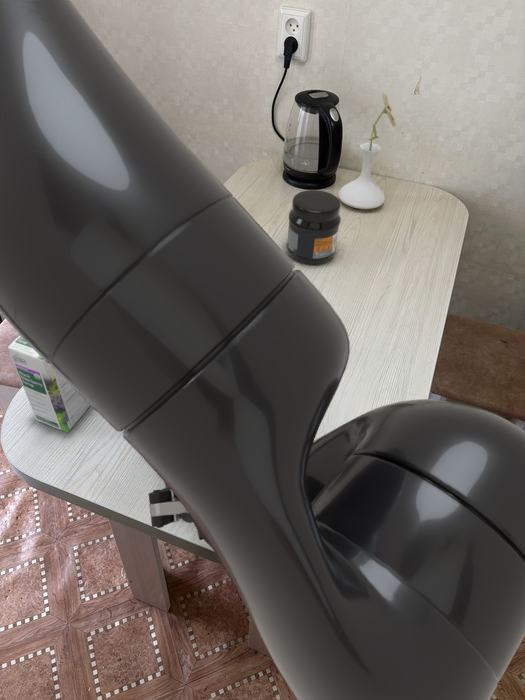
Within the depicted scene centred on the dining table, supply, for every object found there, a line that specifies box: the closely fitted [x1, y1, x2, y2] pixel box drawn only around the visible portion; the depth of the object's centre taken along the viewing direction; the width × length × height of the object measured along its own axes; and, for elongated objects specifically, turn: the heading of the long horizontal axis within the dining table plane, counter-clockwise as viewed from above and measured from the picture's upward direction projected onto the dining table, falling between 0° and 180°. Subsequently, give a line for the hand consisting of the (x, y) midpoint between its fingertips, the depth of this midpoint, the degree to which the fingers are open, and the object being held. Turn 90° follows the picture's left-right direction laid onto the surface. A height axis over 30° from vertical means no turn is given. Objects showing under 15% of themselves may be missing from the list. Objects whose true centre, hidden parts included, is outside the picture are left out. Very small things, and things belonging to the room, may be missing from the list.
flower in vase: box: [338, 90, 397, 210], centre depth 118 cm, size 13×11×25 cm
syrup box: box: [7, 335, 91, 433], centre depth 69 cm, size 6×6×14 cm
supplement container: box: [286, 189, 342, 265], centre depth 104 cm, size 10×10×12 cm
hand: (208, 487), depth 48 cm, fingers closed
